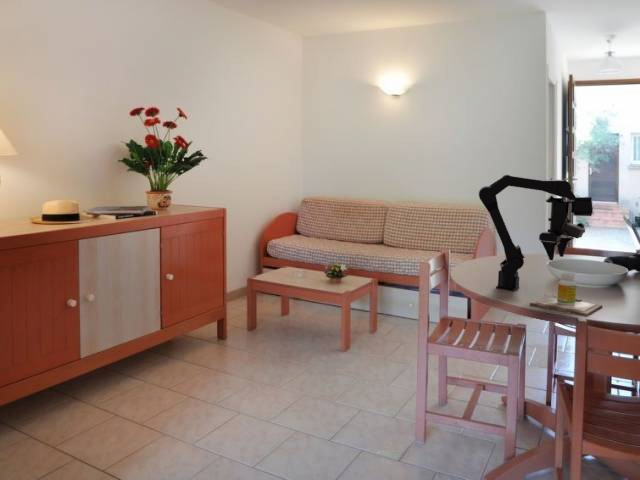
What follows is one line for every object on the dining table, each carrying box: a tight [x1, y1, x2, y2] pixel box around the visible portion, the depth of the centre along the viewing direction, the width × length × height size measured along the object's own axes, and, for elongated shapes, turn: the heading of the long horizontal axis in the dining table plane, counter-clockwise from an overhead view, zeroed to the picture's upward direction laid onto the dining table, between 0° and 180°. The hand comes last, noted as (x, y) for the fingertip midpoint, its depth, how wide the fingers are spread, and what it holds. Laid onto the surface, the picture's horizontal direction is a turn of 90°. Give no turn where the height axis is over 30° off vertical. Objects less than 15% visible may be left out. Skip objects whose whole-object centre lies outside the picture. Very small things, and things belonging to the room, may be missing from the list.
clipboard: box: [529, 294, 603, 317], centre depth 183 cm, size 18×14×2 cm
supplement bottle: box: [556, 272, 577, 305], centre depth 182 cm, size 5×5×10 cm
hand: (556, 258), depth 202 cm, fingers open, 9 cm apart
